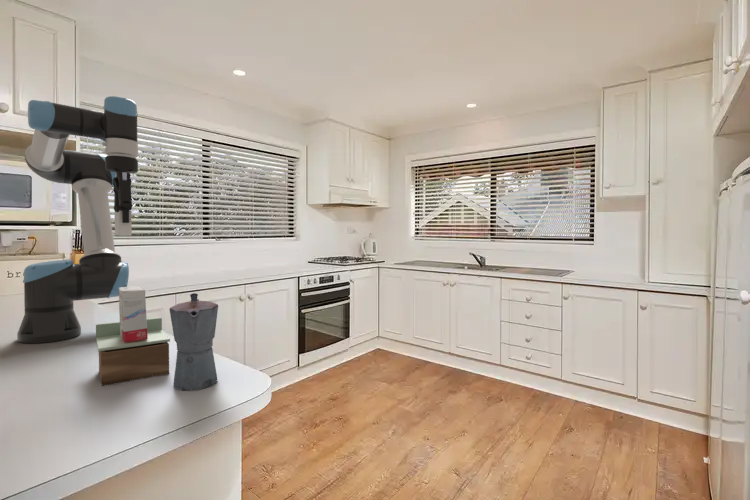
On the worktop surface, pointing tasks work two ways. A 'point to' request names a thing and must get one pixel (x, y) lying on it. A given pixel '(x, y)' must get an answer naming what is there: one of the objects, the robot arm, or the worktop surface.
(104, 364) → the walnut box
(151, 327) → the lid
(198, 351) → the moka pot
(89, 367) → the worktop surface
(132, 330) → the ink box
